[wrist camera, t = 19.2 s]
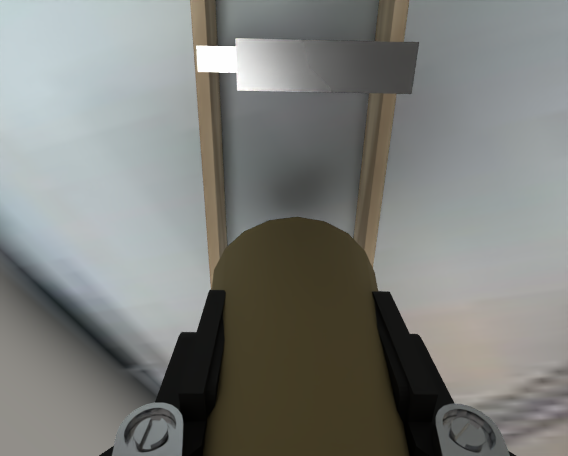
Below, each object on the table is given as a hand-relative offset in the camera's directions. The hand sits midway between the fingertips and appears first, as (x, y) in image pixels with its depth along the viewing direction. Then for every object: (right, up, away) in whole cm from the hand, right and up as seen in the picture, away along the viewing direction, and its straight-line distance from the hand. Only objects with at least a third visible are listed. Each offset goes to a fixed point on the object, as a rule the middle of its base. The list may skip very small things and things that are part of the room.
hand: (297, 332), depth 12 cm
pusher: (0, +12, +8) cm, 14 cm away
